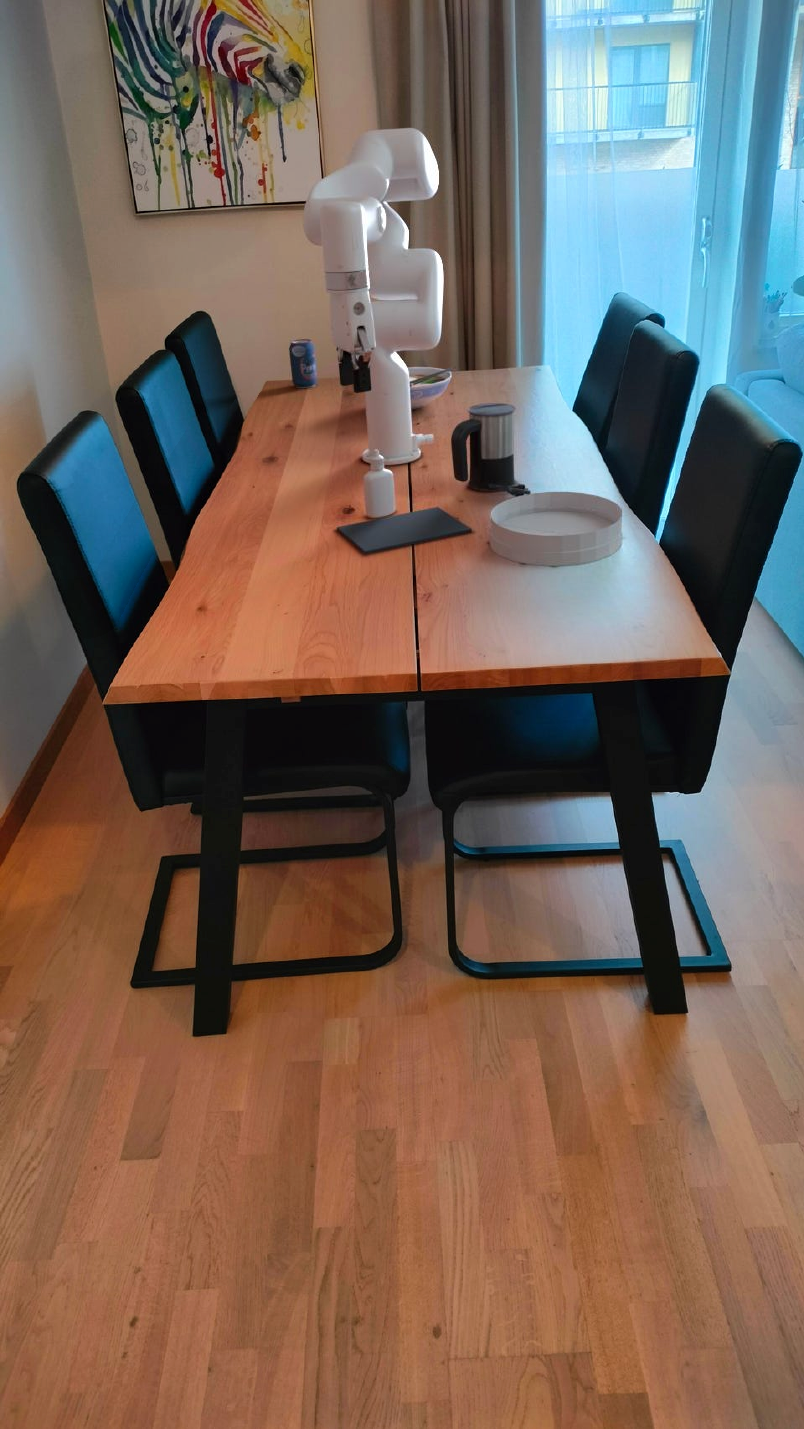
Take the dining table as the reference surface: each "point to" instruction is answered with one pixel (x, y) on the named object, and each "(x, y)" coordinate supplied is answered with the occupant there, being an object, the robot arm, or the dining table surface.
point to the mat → (403, 530)
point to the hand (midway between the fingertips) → (355, 387)
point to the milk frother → (487, 449)
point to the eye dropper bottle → (379, 489)
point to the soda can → (303, 363)
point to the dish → (556, 528)
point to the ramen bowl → (427, 384)
